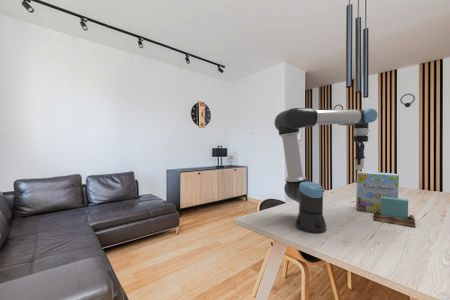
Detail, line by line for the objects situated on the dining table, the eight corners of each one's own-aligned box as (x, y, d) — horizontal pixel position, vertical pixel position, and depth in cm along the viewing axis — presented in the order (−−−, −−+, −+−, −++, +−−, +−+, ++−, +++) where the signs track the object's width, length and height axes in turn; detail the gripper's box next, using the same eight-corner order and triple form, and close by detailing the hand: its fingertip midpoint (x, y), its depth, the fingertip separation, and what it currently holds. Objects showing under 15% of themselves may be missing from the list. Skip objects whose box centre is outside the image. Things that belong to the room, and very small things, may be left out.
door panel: (407, 222, 113) (408, 201, 113) (380, 218, 120) (380, 197, 120) (406, 220, 116) (407, 199, 116) (380, 216, 123) (380, 196, 123)
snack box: (356, 210, 136) (357, 172, 136) (355, 207, 144) (356, 171, 143) (398, 216, 126) (399, 174, 126) (394, 212, 134) (395, 173, 133)
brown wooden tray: (412, 221, 118) (412, 214, 118) (415, 227, 108) (415, 220, 108) (373, 214, 128) (373, 208, 128) (373, 220, 119) (373, 213, 119)
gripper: (366, 134, 116) (365, 171, 116) (369, 136, 135) (368, 168, 136) (351, 134, 120) (350, 170, 121) (356, 136, 140) (355, 167, 140)
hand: (359, 169), depth 128 cm, fingers open, 13 cm apart
